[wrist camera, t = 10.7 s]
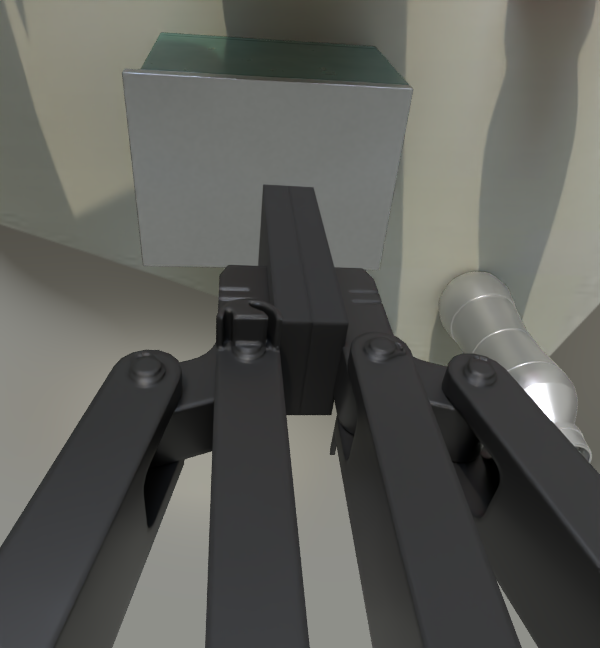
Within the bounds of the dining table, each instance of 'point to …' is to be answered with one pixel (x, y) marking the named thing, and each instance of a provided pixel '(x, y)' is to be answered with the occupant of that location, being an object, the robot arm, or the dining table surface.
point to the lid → (259, 161)
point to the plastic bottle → (509, 346)
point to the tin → (270, 58)
